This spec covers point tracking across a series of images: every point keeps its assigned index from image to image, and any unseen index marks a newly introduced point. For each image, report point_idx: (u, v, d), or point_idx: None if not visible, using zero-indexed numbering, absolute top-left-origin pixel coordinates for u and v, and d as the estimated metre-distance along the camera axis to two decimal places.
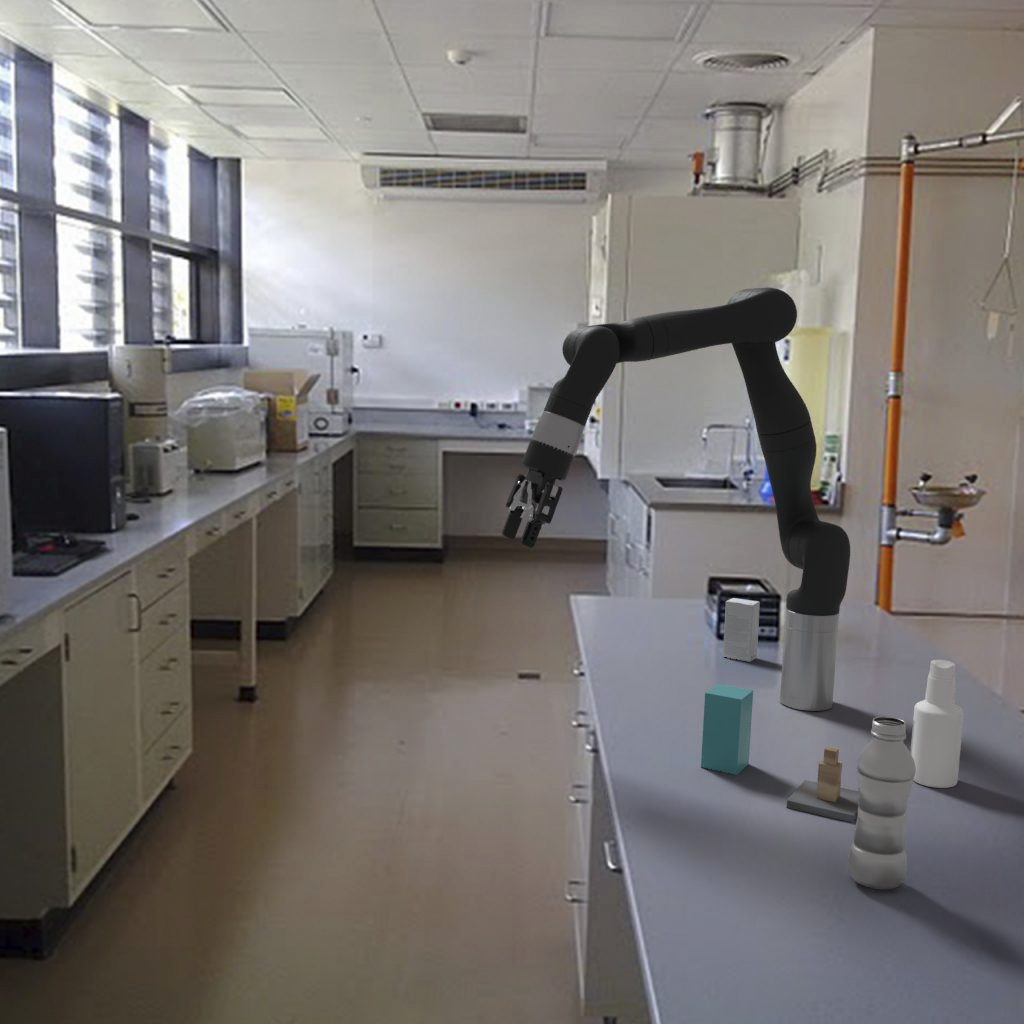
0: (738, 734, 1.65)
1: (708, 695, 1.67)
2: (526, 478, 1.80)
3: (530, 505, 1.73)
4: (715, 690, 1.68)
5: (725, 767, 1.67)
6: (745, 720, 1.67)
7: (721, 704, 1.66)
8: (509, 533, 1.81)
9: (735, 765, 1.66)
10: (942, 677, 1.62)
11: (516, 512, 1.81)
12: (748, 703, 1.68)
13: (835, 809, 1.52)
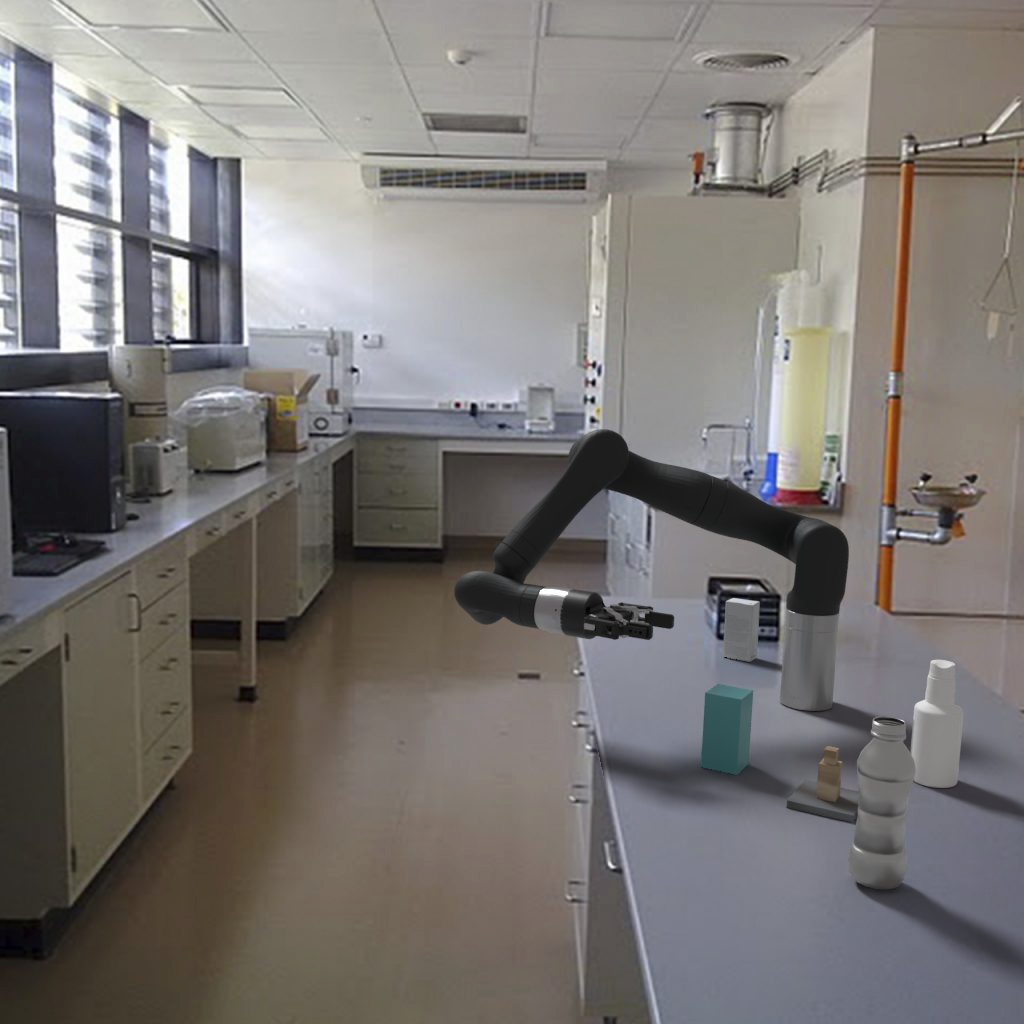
0: (738, 734, 1.65)
1: (708, 695, 1.67)
2: None
3: None
4: (715, 690, 1.68)
5: (725, 767, 1.67)
6: (745, 720, 1.67)
7: (721, 704, 1.66)
8: (668, 622, 1.76)
9: (735, 765, 1.66)
10: (942, 677, 1.62)
11: (647, 619, 1.78)
12: (748, 703, 1.68)
13: (835, 809, 1.52)
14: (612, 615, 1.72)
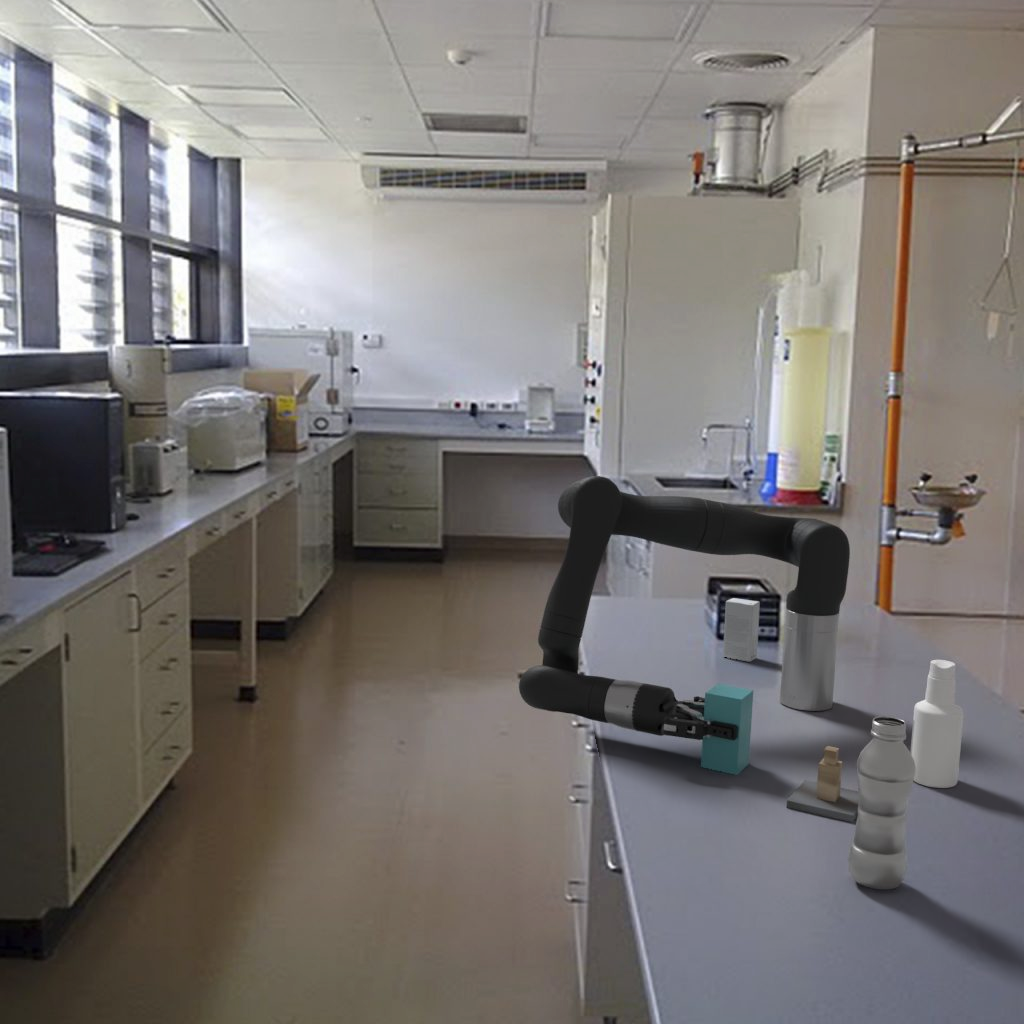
0: (738, 734, 1.65)
1: (708, 695, 1.67)
2: None
3: None
4: (715, 690, 1.68)
5: (725, 767, 1.67)
6: (745, 720, 1.67)
7: (722, 704, 1.66)
8: None
9: (735, 765, 1.66)
10: (942, 677, 1.62)
11: None
12: (748, 703, 1.67)
13: (835, 809, 1.52)
14: (691, 714, 1.68)
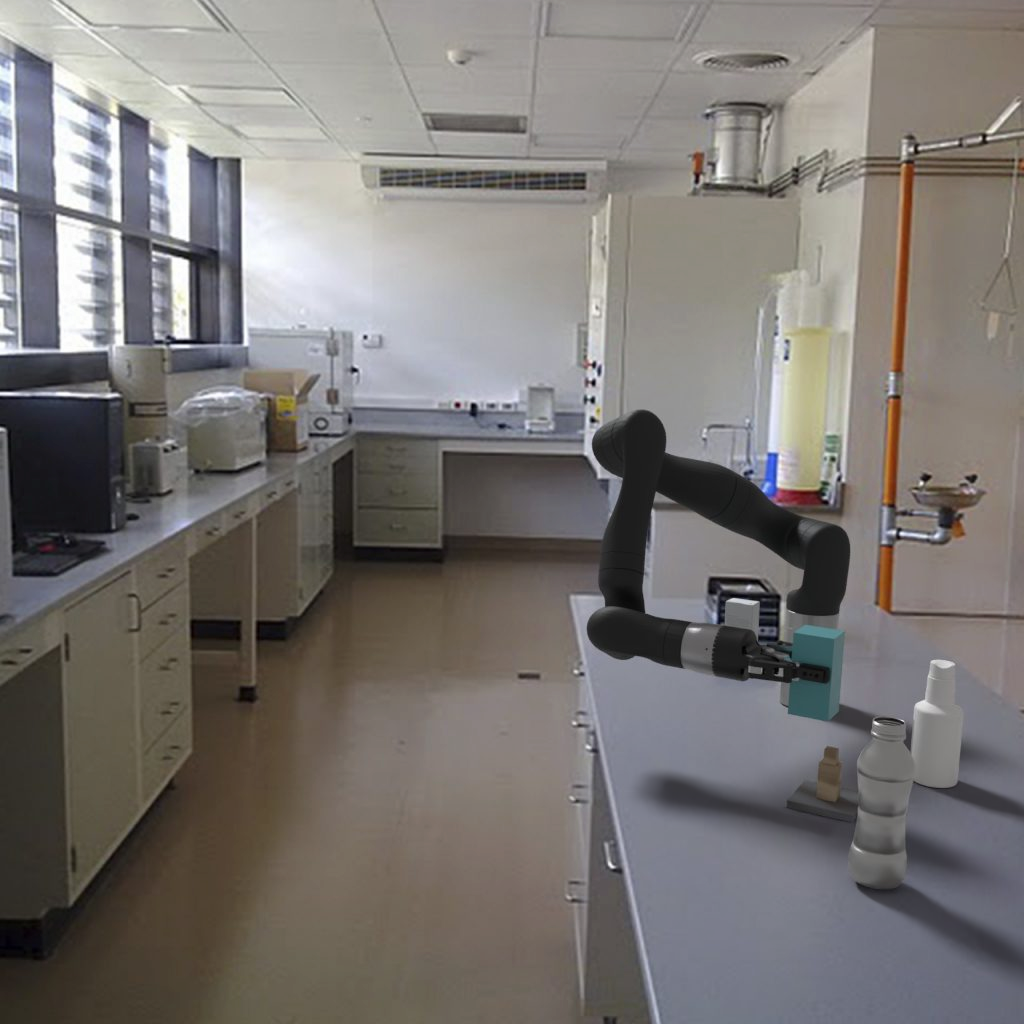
0: (830, 677, 1.52)
1: (797, 635, 1.54)
2: None
3: None
4: (804, 630, 1.55)
5: (815, 713, 1.53)
6: (837, 663, 1.54)
7: (812, 645, 1.53)
8: None
9: (826, 711, 1.53)
10: (942, 677, 1.62)
11: None
12: (840, 644, 1.54)
13: (835, 809, 1.52)
14: (778, 656, 1.55)
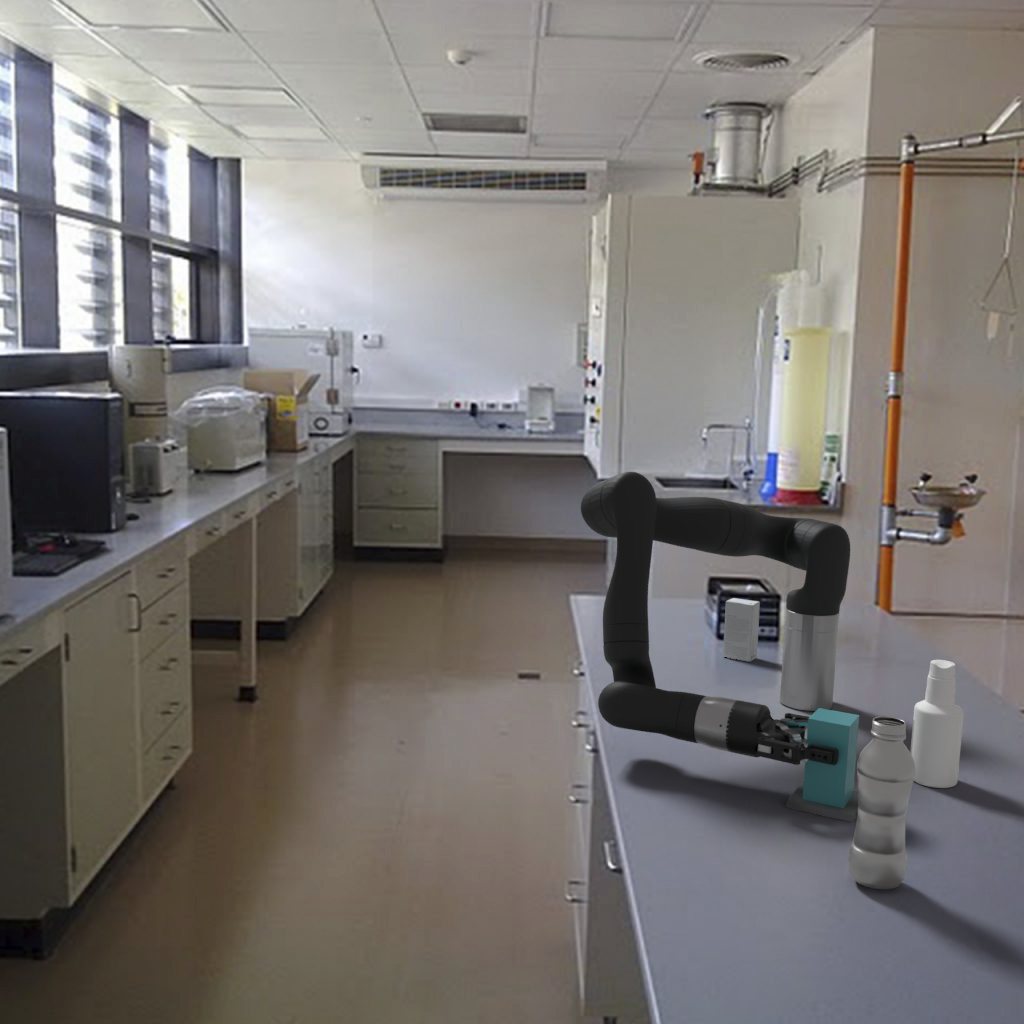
0: (845, 764, 1.51)
1: (812, 721, 1.53)
2: None
3: None
4: (818, 715, 1.55)
5: (831, 800, 1.53)
6: (852, 748, 1.53)
7: (827, 731, 1.52)
8: None
9: (842, 797, 1.52)
10: (942, 677, 1.62)
11: None
12: (855, 729, 1.54)
13: (835, 809, 1.52)
14: (789, 734, 1.54)
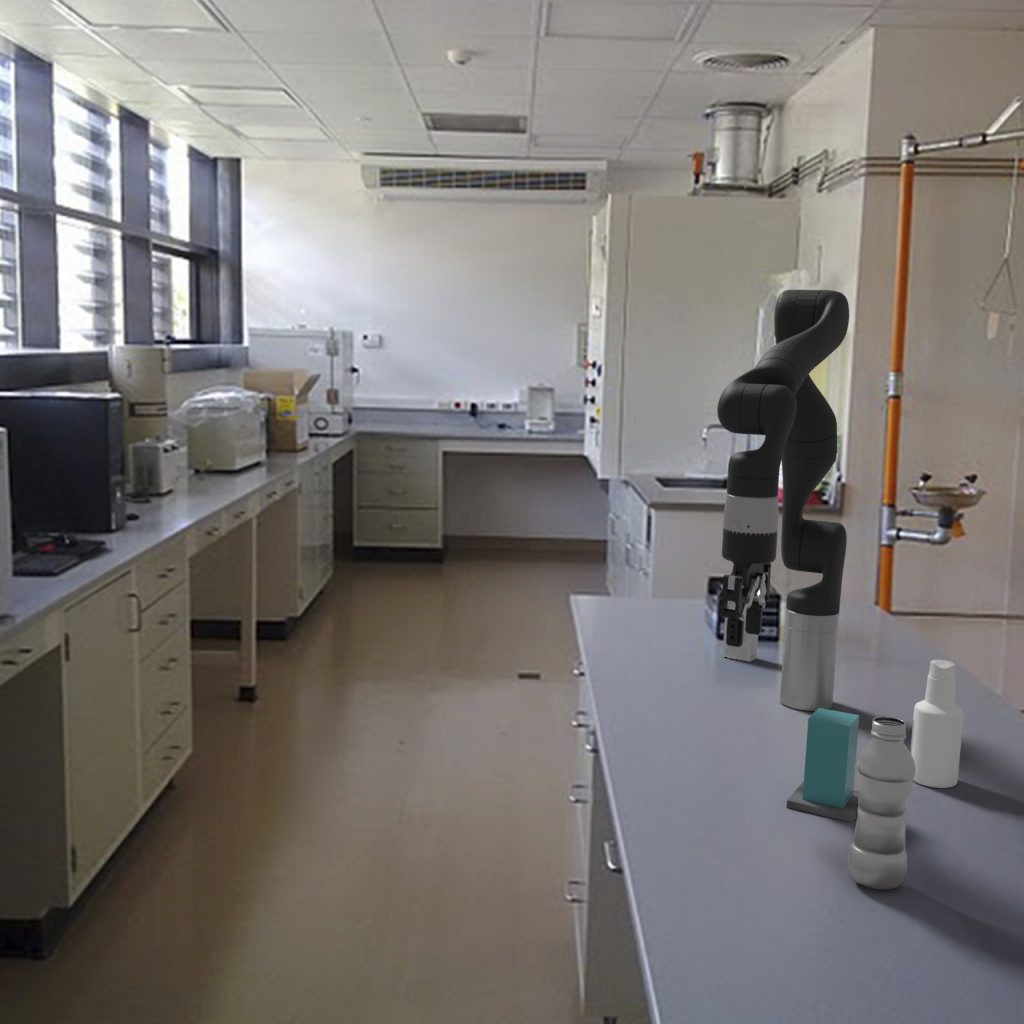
0: (845, 764, 1.51)
1: (812, 721, 1.53)
2: None
3: None
4: (818, 715, 1.55)
5: (831, 800, 1.53)
6: (852, 748, 1.53)
7: (827, 731, 1.52)
8: (752, 629, 1.63)
9: (842, 797, 1.52)
10: (942, 677, 1.62)
11: (753, 605, 1.63)
12: (855, 729, 1.54)
13: (835, 809, 1.52)
14: (749, 597, 1.55)
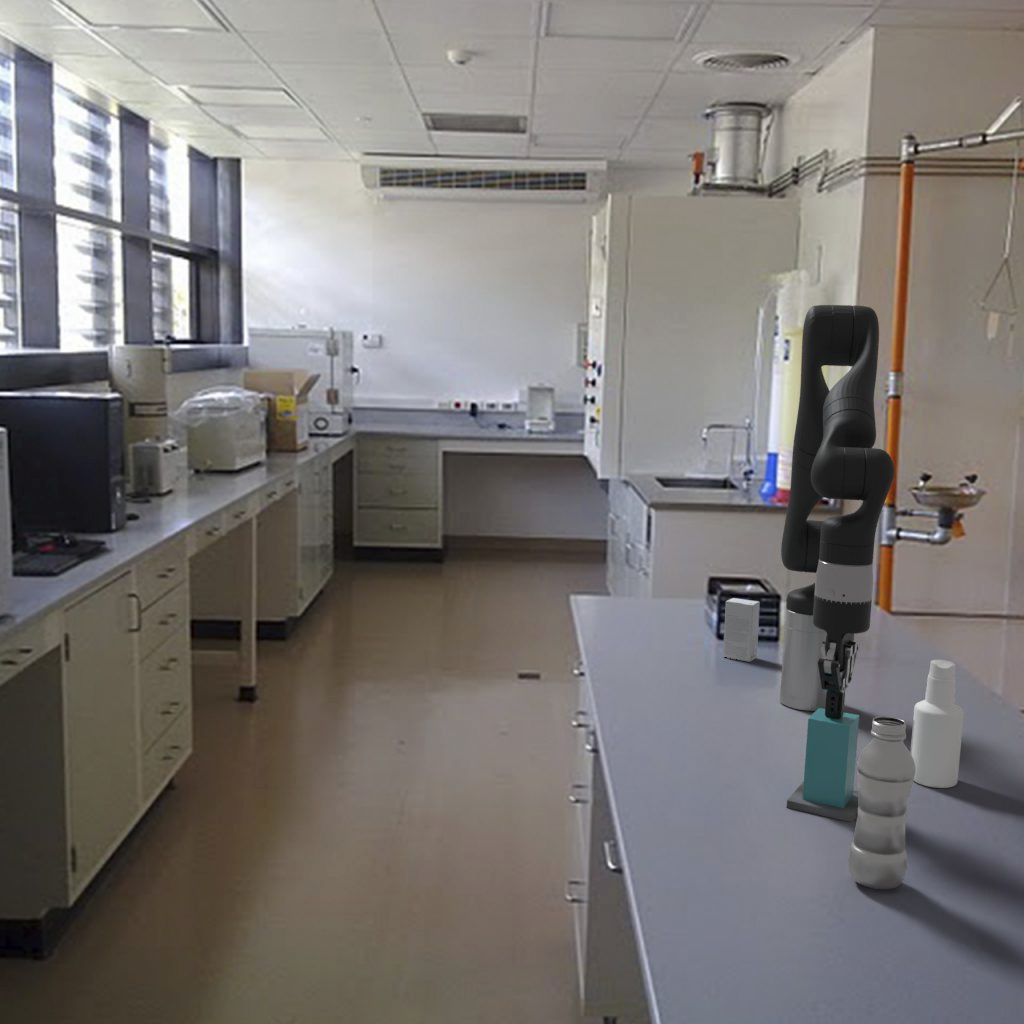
0: (845, 764, 1.51)
1: (812, 721, 1.53)
2: None
3: None
4: (818, 715, 1.55)
5: (831, 800, 1.53)
6: (852, 748, 1.53)
7: (827, 731, 1.52)
8: None
9: (842, 797, 1.52)
10: (942, 677, 1.62)
11: None
12: (855, 729, 1.54)
13: (835, 809, 1.52)
14: (845, 671, 1.51)
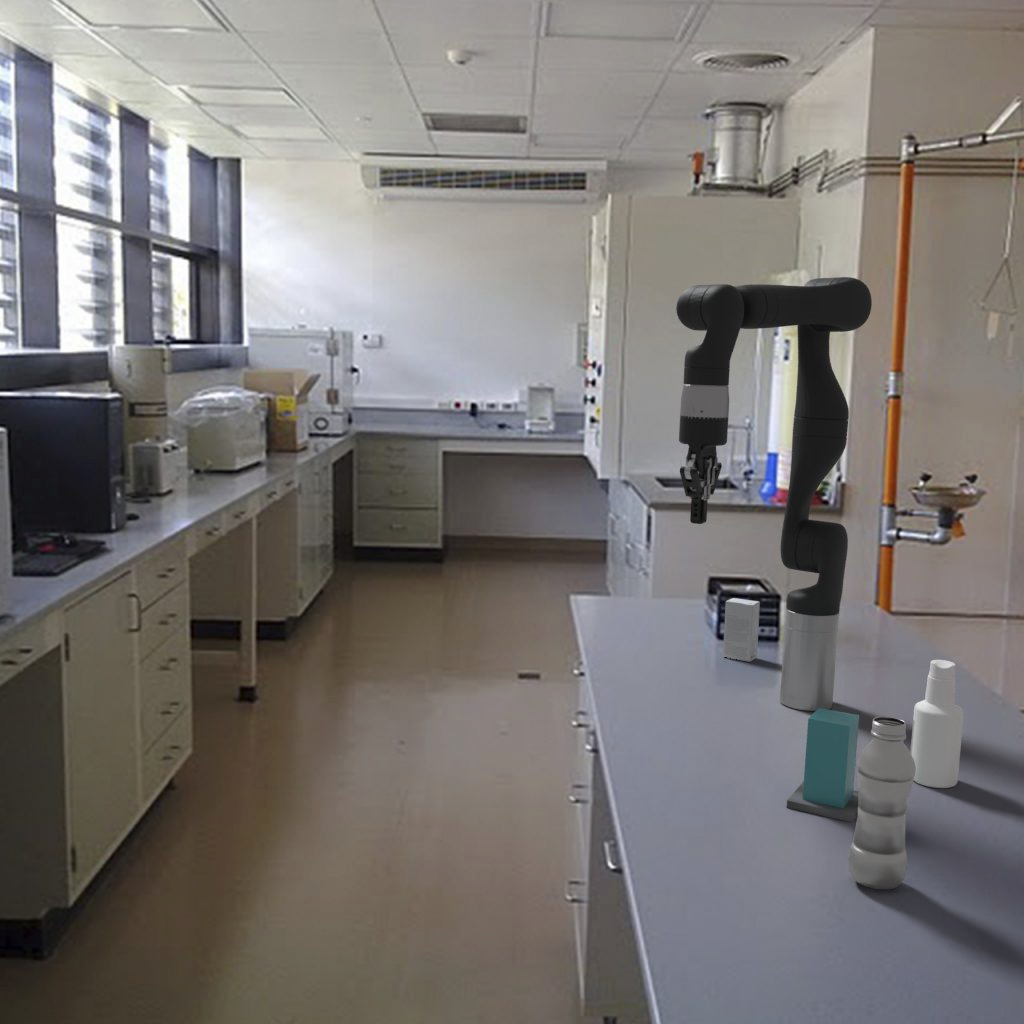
0: (845, 764, 1.51)
1: (812, 721, 1.53)
2: None
3: None
4: (818, 715, 1.55)
5: (831, 800, 1.53)
6: (852, 748, 1.53)
7: (827, 731, 1.52)
8: None
9: (842, 797, 1.52)
10: (942, 677, 1.62)
11: None
12: (855, 729, 1.54)
13: (835, 809, 1.52)
14: (706, 480, 1.75)
